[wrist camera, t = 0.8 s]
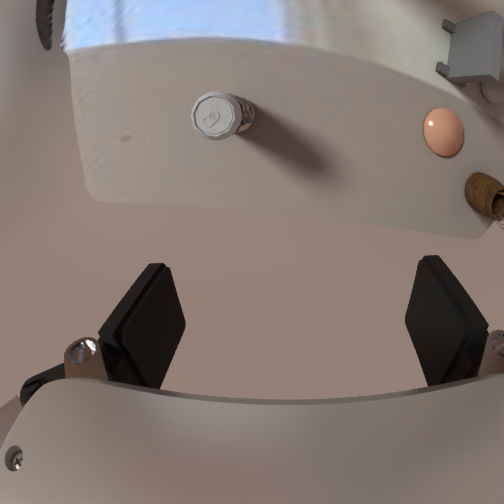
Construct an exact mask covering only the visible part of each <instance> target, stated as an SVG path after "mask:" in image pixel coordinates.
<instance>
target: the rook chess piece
mask: <svg viewBox="0 0 504 504" xmlns="http://www.w3.org/2000/svg"><path fill="white" fill-rule="evenodd" d="M481 88H482V92H483V94H484V96H485V97H486V99H487V100H488V101H489V102H491V103H500V102H502V101H503V100H504V82H502V81H500V80H499V81H482V83H481Z"/></svg>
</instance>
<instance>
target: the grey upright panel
mask: <svg viewBox="0 0 504 504" xmlns="http://www.w3.org/2000/svg"><path fill="white" fill-rule="evenodd" d="M442 28H443V29H445V30H447V31H448V32H450V33H452V35H451V44H450V51H449V58H448V64H447V65H445V64H443V63H442V62H437V65H436V72H438V73H440V74H442V75H443V76H445V78H446V79H447V80H449V81H451V82H452V83H457V84H458V85H460V86H461V87H466V82H482V81H499V76H500V66H501V55H502V33H503V18H502V17H501V16H500V15H499V14H497V13H496V12H495V11H491V12H488V13H485V14H482V15H479V16H476V17H473V18H470V19H467V20H465V21H462V22H459V23H457V24H453V23H452V22H450V21H448V20H447V19H445V20H443V25H442Z"/></svg>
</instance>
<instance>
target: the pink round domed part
mask: <svg viewBox="0 0 504 504" xmlns="http://www.w3.org/2000/svg"><path fill="white" fill-rule="evenodd" d="M423 134H424V138H425V141H426V143H427V145H428V146H429V148H430V149H431V150H432V151H433V152H435V153H437V154H439V155H442V156H450V155H453V154H455V153H456V152H457V151H458V150H459V148H460V147H461V145H462V142H463V127H462V124H461V122H460V120H459V118H458V117H457V115H456V114H455V113H454V112H452V111H451V110H449V109H446V108H435V109H433V110H431V111H430V112H429V113H428V114H427V116H426V117H425V120H424V123H423Z"/></svg>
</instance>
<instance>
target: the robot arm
mask: <svg viewBox="0 0 504 504" xmlns="http://www.w3.org/2000/svg"><path fill="white" fill-rule="evenodd" d="M185 324H186V323H185V318H184V315H183V312H182V308H181V305H180V302H179V298H178V295H177V292H176V288H175V285H174V281H173V277H172V274H171V270H170V268H169V267H166V266H165V264H164V263H151V264H149V265H148V266H147V267H146V268H145V270H144V271H143V272H142V273H141V275H140V276H139V277H138V278H137V280H136V281H135V282H134V284H133V285H132V286H131V288H130V289H129V290H128V292H127V293H126V294H125V296H124V297H123V298H122V300H121V301H120V302H119V304H118V305H117V306H116V308H115V309H114V310H113V312H112V313H111V315H110V316H109V317H108V319H107V320H106V322H105V323H104V324H103V326H102V327H101V329H100V330H99V331H98V333H99V336H100V338H99V339H98V341H97V340H96V339H95V338H91V337H84V338H80V339H78V340H76V341H74V342H73V343H72V344H71V345H69V347H68V348H67V349H66V352H65V353H64V363H62V364H60V365H58V366H56V367H53V368H51V369H49V370H46V371H44V372H42V373H40V374H37V375H35V376H33V377H31V378H29V379H28V380H27V381H26V382H25V383H24V385H23V386H22V389H21V392H20V398H19V396H18V395H16V396H15V397H14V398H12V399H11V400H10V401H8V402H7V403H6V404H5V405H3V406H2V407H1V408H0V504H504V331H503V330H495V331H492V332H491V333H490V334H489V333H488V331H487V328H488V326H489V325H488V323H487V322H486V320H485V318H484V317H483V315H482V314H481V312H480V311H479V309H478V308H477V306H476V305H475V303H474V302H473V300H472V299H471V298H470V296H469V295H468V293H467V292H466V290H465V289H464V288H463V286H462V285H461V284H460V282H459V281H458V280H457V278H456V277H455V276H454V275H453V273H452V272H451V271H450V269H449V268H448V267H447V265H446V264H445V263H444V262H443V261H442V259H441V258H440V257H439V256H438V255H430V256H424V257H423V259H422V260H420V261H419V263H418V267H417V271H416V277H415V280H414V285H413V289H412V293H411V297H410V301H409V304H408V308H407V312H406V316H405V324H406V327H407V330H408V332H409V334H410V337H411V340H412V342H413V345H414V348H415V350H416V353H417V355H418V358H419V361H420V364H421V367H422V370H423V373H424V375H425V378H426V382H427V385H428V387H424V388H418V389H412V390H406V391H401V392H393V393H386V394H377V395H369V396H358V397H345V398H331V399H303V400H302V399H301V400H273V399H246V398H229V397H216V396H205V395H196V394H188V393H181V392H173V391H166V390H160V387H161V385H162V382H163V380H164V378H165V375H166V373H167V370H168V368H169V365H170V363H171V361H172V358H173V356H174V354H175V351H176V349H177V346H178V344H179V342H180V339H181V337H182V335H183V332H184V330H185Z"/></svg>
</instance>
